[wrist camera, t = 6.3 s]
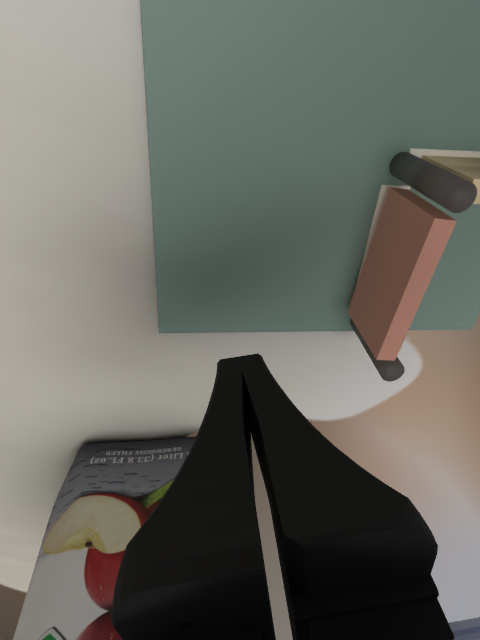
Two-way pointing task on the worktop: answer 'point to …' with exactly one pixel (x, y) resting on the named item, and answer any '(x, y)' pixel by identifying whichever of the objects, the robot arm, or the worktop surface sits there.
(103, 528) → the juice carton
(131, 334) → the worktop surface
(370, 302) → the gate panel
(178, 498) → the robot arm
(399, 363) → the tan and grey block
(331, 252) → the card
